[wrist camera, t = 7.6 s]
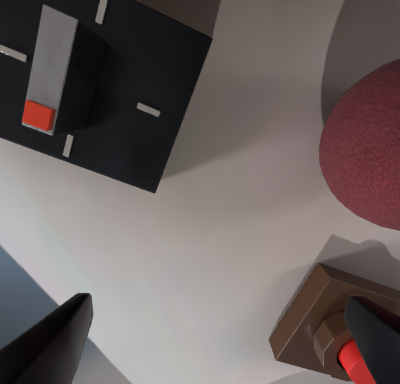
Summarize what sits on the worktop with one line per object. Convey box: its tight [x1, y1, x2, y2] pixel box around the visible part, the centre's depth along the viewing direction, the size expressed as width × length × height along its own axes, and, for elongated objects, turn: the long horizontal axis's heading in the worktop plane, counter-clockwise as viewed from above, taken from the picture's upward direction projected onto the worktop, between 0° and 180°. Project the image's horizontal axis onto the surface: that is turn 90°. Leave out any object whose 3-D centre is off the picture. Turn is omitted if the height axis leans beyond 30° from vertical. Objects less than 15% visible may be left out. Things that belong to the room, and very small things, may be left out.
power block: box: [269, 263, 400, 381], centre depth 23 cm, size 10×10×4 cm
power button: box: [338, 339, 376, 384], centre depth 21 cm, size 4×4×2 cm
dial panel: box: [0, 0, 213, 193], centre depth 16 cm, size 10×12×3 cm
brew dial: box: [22, 5, 107, 136], centre depth 13 cm, size 5×1×4 cm, turn 158°
